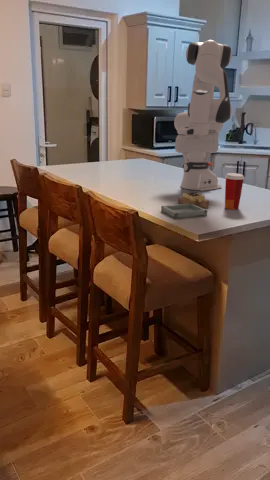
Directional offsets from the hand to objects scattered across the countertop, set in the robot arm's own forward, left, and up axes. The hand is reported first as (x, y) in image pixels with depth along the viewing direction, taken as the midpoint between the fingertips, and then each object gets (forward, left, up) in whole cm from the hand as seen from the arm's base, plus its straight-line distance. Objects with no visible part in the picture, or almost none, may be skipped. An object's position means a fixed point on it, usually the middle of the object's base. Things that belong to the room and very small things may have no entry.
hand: (195, 162), depth 189 cm
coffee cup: (-15, +9, -20) cm, 26 cm away
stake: (0, 0, -16) cm, 16 cm away
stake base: (0, 0, -19) cm, 19 cm away
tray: (+11, +11, -19) cm, 25 cm away
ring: (0, 0, -16) cm, 16 cm away
